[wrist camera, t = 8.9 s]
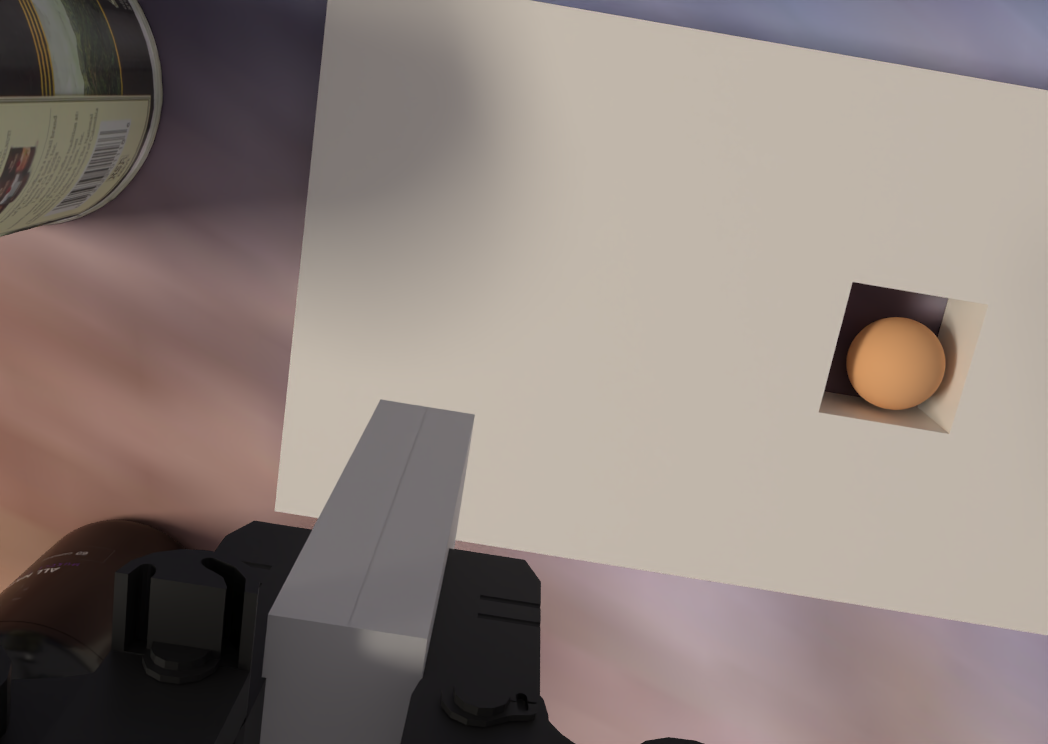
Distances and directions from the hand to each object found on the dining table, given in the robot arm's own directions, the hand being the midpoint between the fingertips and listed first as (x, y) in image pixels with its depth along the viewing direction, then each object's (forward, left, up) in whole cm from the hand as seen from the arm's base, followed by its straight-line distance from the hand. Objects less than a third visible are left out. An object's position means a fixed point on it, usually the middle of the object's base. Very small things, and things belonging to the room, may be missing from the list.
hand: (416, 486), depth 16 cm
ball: (+1, +14, -19) cm, 24 cm away
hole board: (0, +8, -20) cm, 22 cm away
